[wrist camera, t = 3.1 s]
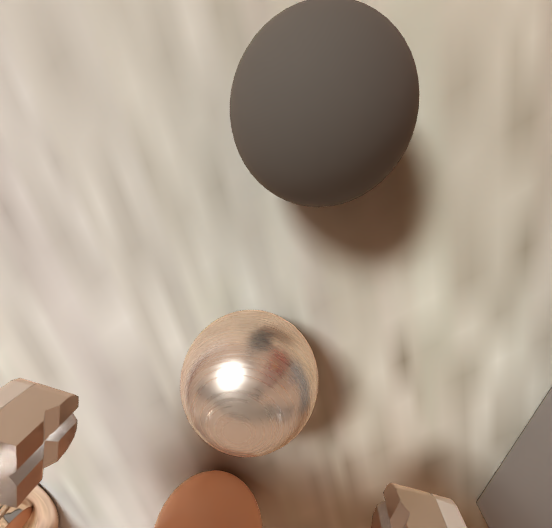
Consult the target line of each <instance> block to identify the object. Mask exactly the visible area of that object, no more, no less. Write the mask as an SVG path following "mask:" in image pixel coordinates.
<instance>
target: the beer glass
mask: <svg viewBox="0 0 552 528" xmlns="http://www.w3.org/2000/svg"><path fill="white" fill-rule="evenodd" d="M58 524H59V518H58V512H57V509H56V507H55V504H54V503H53V501H52V499H51V498H50V496H49V495H48V494H47V493H46V492H45V491H44V490H43V489H42V488H41V487H40V486H39V485H38V484H37V486H36V487H35V488H34V489H33V490H32V491H31V492H30V494H29V495H28V496H27V497H26V498H25V499H24V501H23V502H22V503H21V504H20V505H19V506H18V507H17V508H14V507H10V506H6V505H2V504H0V528H58Z"/></svg>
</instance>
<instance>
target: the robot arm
mask: <svg viewBox="0 0 552 528" xmlns="http://www.w3.org/2000/svg"><path fill="white" fill-rule="evenodd" d="M78 405H79V396H76V395H74V394H71V393H68V392H65V391H62V390H58V389H55V388H52V387H49V386H46V385H42V384H39V383H35V382H32V381H28V380H25V379H22V378H18V379H15V380H12V381H10V382H8V383H7V384H6V385H4V386H3V387H1V388H0V504H2V505H6V506H10V507H14V508H17V507H18V506H19V505H20V504H21V503H22V502H23V501H24V499H25V498H26V497H27V496H28V495H29V494H30V492H31V491H32V490H33V489H34V488H35V487H36V486H37V484H38V483H39V482H40V481H41V480H42V477H43V469H44V468H45V467H47V466H49V465H51V464H53V463H55V462H57V461H58V460H59V459H60V458H61V456H62V455H63V454H64V453H65V452H66V450H67V449H68V447H69V445H70V444H71V442H72V440H73V438H74V436H75V433H76V429H77V419H76V417H75V416H74V414H73V412H74V411H75V410H76V409H77V408H78ZM383 494H384V498H385V501H383V502H382V503H380V504H378V505H377V506H376V508H375V510H374V513H373V516H372V524H371V528H467V527H466V525H465V522H464V520H463V518H462V516H461V514H460V512H459V509H458V507H457V505H456V504H455V503H454V501H453V500H452V499H450V498H446V497H442V496H439V495H435V494H431V493H428V492H425V491H421V490H417V489H414V488H410V487H406V486H402V485H399V484H395V483H389V484H388V485H387V486H386V488H385V490H384V492H383Z"/></svg>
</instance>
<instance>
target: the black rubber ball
mask: <svg viewBox="0 0 552 528" xmlns="http://www.w3.org/2000/svg"><path fill="white" fill-rule="evenodd" d="M418 109H419V83H418V75H417V70H416V65H415V62H414V59H413V56H412V53H411V51H410V49H409V47H408V45H407V43H406V41H405V39H404V38H403V36H402V35H401V33H400V32H399V31H398V29H397V28H396V27H395V26H394V25H393V24H392V23H391V22H390V21H389V20H388V19H387V18H386V17H385V16H384V15H382V14H381V13H380V12H378V11H377V10H376V9H374V8H372V7H370V6H368V5H366V4H364V3H361V2H359V1H356V0H306V1H303V2H300V3H297V4H295V5H293V6H291V7H289V8H287V9H285V10H283V11H282V12H280V13H279V14H277V15H276V16H274V17H273V18H272V19H271V20H270V21H269V22H268V23H266V24H265V25H264V26H263V27H262V29H261V30H260V31H259V32H258V33H257V34H256V35H255V37H254V38H253V40H252V41H251V43H250V44H249V46H248V47H247V49H246V50H245V52H244V54H243V56H242V58H241V60H240V62H239V65H238V68H237V70H236V73H235V76H234V80H233V84H232V89H231V97H230V119H231V128H232V132H233V136H234V140H235V144H236V146H237V149H238V152H239V154H240V156H241V158H242V160H243V162H244V164H245V165H246V167H247V168H248V170H249V171H250V173H251V174H252V175H253V176H254V177H255V178H256V180H257V181H258V182H259V183H260V184H261V185H263V186H264V187H265V188H266V189H267V190H269V191H270V192H272V193H273V194H275V195H276V196H278V197H280V198H282V199H284V200H286V201H289V202H292V203H295V204H299V205H304V206H313V207H323V206H333V205H337V204H342V203H345V202H348V201H351V200H353V199H355V198H357V197H359V196H361V195H363V194H365V193H366V192H368V191H369V190H371V189H373V188H374V187H375V186H376V185H377V184H379V183H380V182H381V181H382V180H383V179H384V178H385V177H386V176H387V175H388V174H389V173H390V172H391V171H392V170H393V168H394V167H395V166H396V164H397V163H398V162H399V160H400V159H401V157H402V155H403V154H404V152H405V150H406V148H407V146H408V144H409V142H410V139H411V137H412V135H413V131H414V128H415V124H416V120H417V115H418Z"/></svg>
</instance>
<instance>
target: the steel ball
mask: <svg viewBox="0 0 552 528" xmlns="http://www.w3.org/2000/svg"><path fill="white" fill-rule="evenodd" d="M318 382H319V380H318V369H317V364H316V360H315V357H314V354H313V352H312V349H311V347H310V345H309V343H308V342H307V340H306V339H305V337H304V336H303V335H302V333H301V332H300V331H299V330H298V329H297V328H296V327H295V326H294V325H292V324H291V323H290V322H288V321H287V320H285V319H284V318H282V317H280V316H278V315H276V314H273V313H270V312H266V311H261V310H242V311H236V312H233V313H229V314H227V315H225V316H223V317H220V318H218V319H217V320H215V321H214V322H212V323H211V324H210V325H208V326H207V327H206V328H205V329H204V330H203V331H202V332H201V333H200V334H199V335H198V336H197V338H196V339H195V340H194V342H193V343H192V345H191V347H190V349H189V350H188V353H187V355H186V357H185V360H184V363H183V367H182V371H181V380H180V393H181V400H182V405H183V408H184V411H185V414H186V416H187V419H188V421H189V422H190V424H191V426H192V427H193V429H194V430H195V431H196V433H197V434H198V435H199V436H200V437H201V438H202V439H203V440H204V441H205V442H206V443H207V444H209V445H210V446H212V447H213V448H215V449H217V450H218V451H221V452H223V453H225V454H228V455H232V456H237V457H257V456H263V455H266V454H269V453H272V452H274V451H276V450H278V449H280V448H282V447H284V446H285V445H287V444H288V443H289V442H290V441H291V440H293V439H294V438H295V437H296V436H297V435H298V434H299V433H300V432H301V430H302V429H303V428H304V426H305V425H306V423H307V422H308V420H309V418H310V416H311V413H312V411H313V409H314V406H315V402H316V399H317V394H318Z"/></svg>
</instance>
